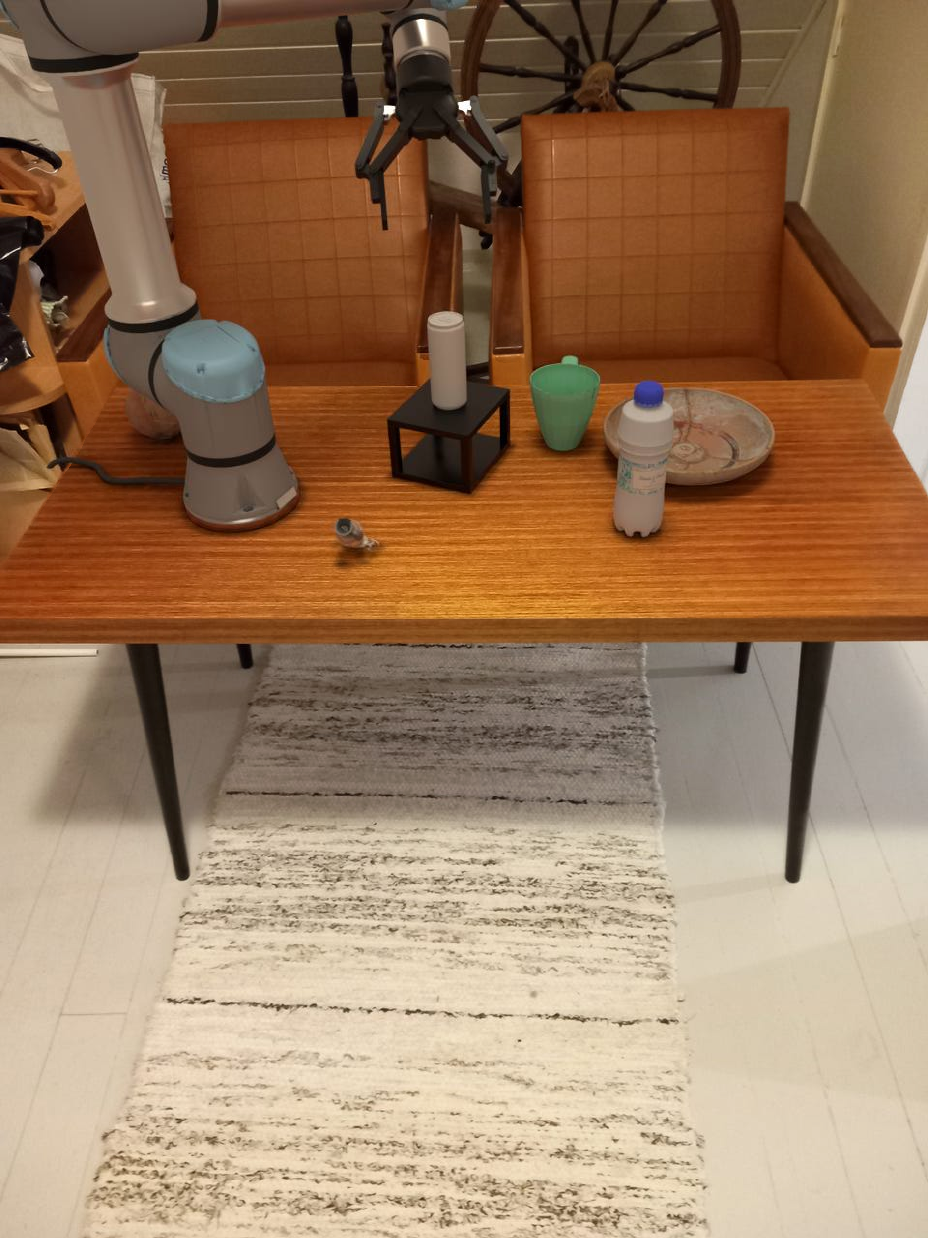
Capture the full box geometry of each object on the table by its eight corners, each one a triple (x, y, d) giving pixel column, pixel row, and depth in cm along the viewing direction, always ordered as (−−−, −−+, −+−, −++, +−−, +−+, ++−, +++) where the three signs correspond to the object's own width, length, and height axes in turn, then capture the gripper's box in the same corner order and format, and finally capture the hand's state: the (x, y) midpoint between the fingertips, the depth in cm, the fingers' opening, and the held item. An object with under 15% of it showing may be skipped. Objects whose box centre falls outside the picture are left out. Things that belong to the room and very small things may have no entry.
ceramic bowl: (566, 452, 141) (567, 421, 138) (682, 401, 151) (685, 371, 148) (686, 523, 126) (691, 490, 123) (805, 462, 137) (812, 430, 133)
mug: (594, 461, 139) (598, 396, 132) (525, 457, 140) (525, 393, 134) (600, 411, 150) (604, 349, 143) (536, 408, 151) (537, 347, 145)
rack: (391, 476, 137) (386, 418, 132) (436, 430, 147) (433, 374, 141) (470, 494, 133) (468, 435, 127) (510, 445, 143) (510, 388, 137)
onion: (153, 443, 153) (127, 380, 150) (209, 425, 151) (183, 361, 149) (130, 453, 144) (102, 386, 141) (188, 434, 143) (161, 366, 140)
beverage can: (447, 391, 137) (443, 307, 129) (474, 401, 135) (471, 316, 127) (424, 405, 134) (419, 320, 127) (451, 414, 132) (447, 329, 124)
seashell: (361, 570, 121) (355, 530, 117) (322, 561, 123) (316, 521, 119) (381, 546, 125) (376, 506, 121) (343, 537, 126) (338, 498, 123)
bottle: (622, 546, 123) (634, 400, 110) (602, 517, 128) (612, 374, 115) (671, 536, 124) (690, 391, 111) (650, 508, 129) (665, 366, 116)
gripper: (514, 81, 135) (528, 229, 134) (332, 92, 134) (343, 241, 132) (519, 45, 128) (534, 201, 126) (326, 55, 127) (339, 213, 125)
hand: (436, 222), depth 129 cm, fingers open, 13 cm apart
